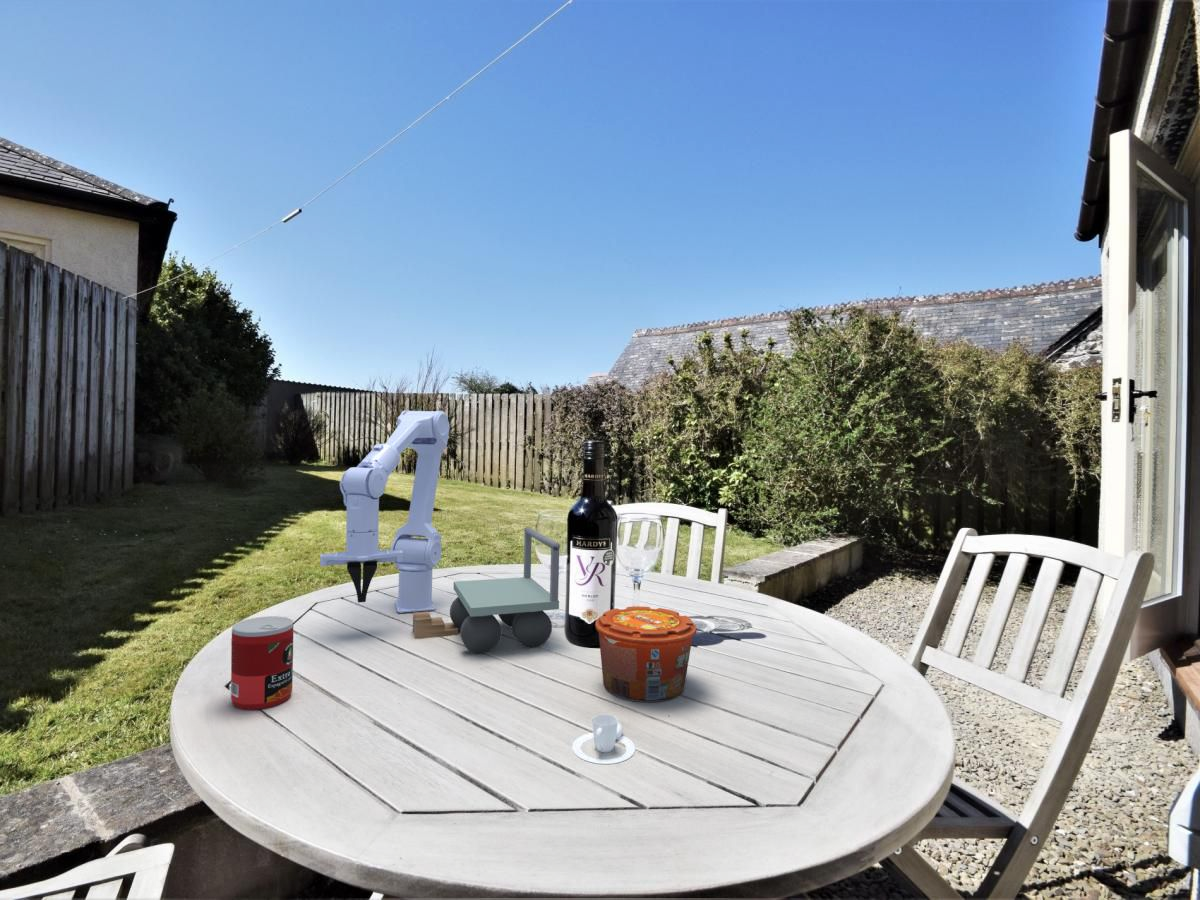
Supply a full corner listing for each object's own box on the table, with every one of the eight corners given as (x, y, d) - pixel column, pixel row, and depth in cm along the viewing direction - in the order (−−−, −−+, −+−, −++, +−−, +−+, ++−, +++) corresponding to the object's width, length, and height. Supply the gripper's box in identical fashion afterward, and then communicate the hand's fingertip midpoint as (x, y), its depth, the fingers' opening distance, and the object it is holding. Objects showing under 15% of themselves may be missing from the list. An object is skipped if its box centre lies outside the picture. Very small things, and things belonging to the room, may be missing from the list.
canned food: (274, 711, 85) (276, 633, 85) (218, 709, 85) (218, 631, 85) (302, 689, 93) (303, 616, 93) (250, 687, 93) (251, 615, 93)
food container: (709, 680, 100) (711, 615, 100) (669, 718, 86) (671, 642, 86) (623, 660, 108) (625, 599, 108) (574, 691, 95) (575, 622, 94)
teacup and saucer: (603, 727, 84) (604, 698, 84) (651, 747, 79) (652, 716, 79) (559, 751, 77) (559, 719, 77) (608, 775, 72) (609, 741, 72)
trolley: (447, 626, 125) (449, 529, 124) (529, 618, 131) (531, 526, 131) (464, 660, 106) (466, 546, 106) (557, 650, 113) (560, 542, 112)
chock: (412, 632, 121) (413, 612, 121) (453, 628, 124) (454, 609, 124) (414, 640, 117) (415, 620, 117) (457, 636, 120) (458, 616, 120)
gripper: (319, 535, 111) (319, 609, 111) (404, 532, 116) (403, 603, 117) (321, 529, 117) (320, 599, 118) (401, 526, 123) (400, 593, 123)
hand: (361, 600), depth 118 cm, fingers closed
